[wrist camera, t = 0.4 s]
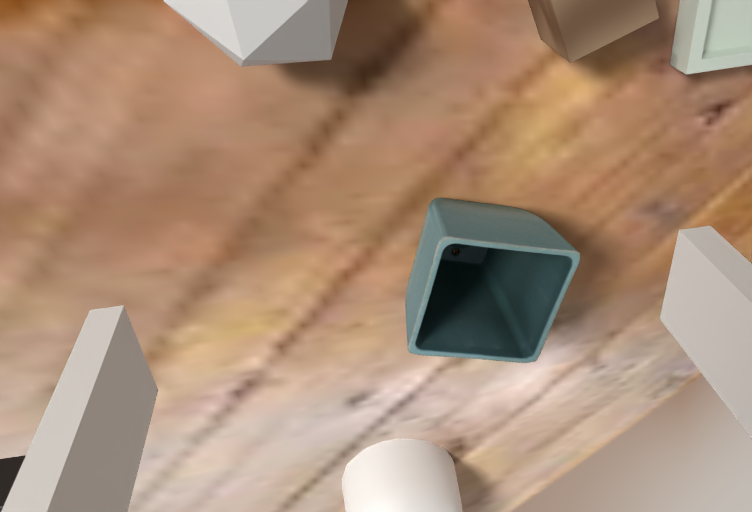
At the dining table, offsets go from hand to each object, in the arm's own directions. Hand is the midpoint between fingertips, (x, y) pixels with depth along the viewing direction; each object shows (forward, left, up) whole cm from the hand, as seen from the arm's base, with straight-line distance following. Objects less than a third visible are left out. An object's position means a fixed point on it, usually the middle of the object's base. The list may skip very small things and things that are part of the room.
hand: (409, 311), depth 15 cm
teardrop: (+42, -1, -26) cm, 49 cm away
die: (-4, -4, -26) cm, 27 cm away
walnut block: (-1, +13, -26) cm, 29 cm away
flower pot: (+15, +6, -26) cm, 31 cm away
